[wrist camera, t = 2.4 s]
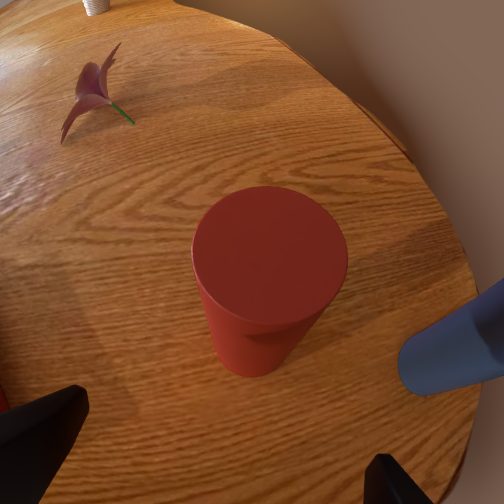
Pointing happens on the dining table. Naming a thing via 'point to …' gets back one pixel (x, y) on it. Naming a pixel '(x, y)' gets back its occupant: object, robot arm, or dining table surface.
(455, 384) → the blue pin
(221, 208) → the red pin
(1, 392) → the red tray
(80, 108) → the lily
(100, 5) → the cup
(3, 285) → the dining table surface
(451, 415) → the dining table surface
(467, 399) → the dining table surface
